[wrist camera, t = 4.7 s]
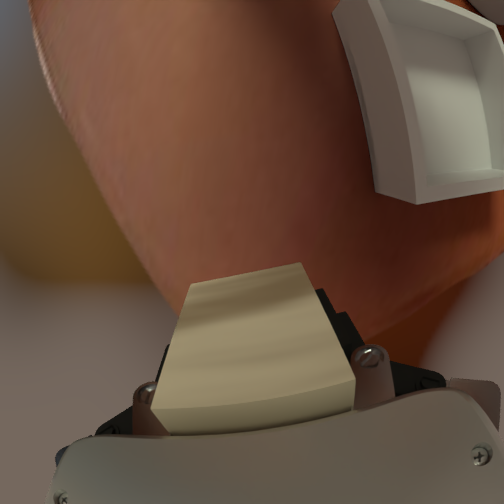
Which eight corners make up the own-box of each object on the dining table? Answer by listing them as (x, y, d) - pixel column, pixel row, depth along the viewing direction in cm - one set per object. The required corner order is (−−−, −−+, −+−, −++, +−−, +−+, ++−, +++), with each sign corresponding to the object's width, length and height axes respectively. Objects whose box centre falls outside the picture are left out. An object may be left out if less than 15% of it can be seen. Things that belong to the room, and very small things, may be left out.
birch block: (190, 284, 12) (150, 408, 6) (300, 262, 12) (355, 378, 5) (219, 363, 14) (211, 479, 7) (311, 346, 14) (346, 459, 7)
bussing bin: (331, 13, 15) (356, -22, 9) (460, 36, 14) (495, 24, 9) (375, 192, 20) (416, 204, 14) (490, 176, 19) (530, 185, 14)
